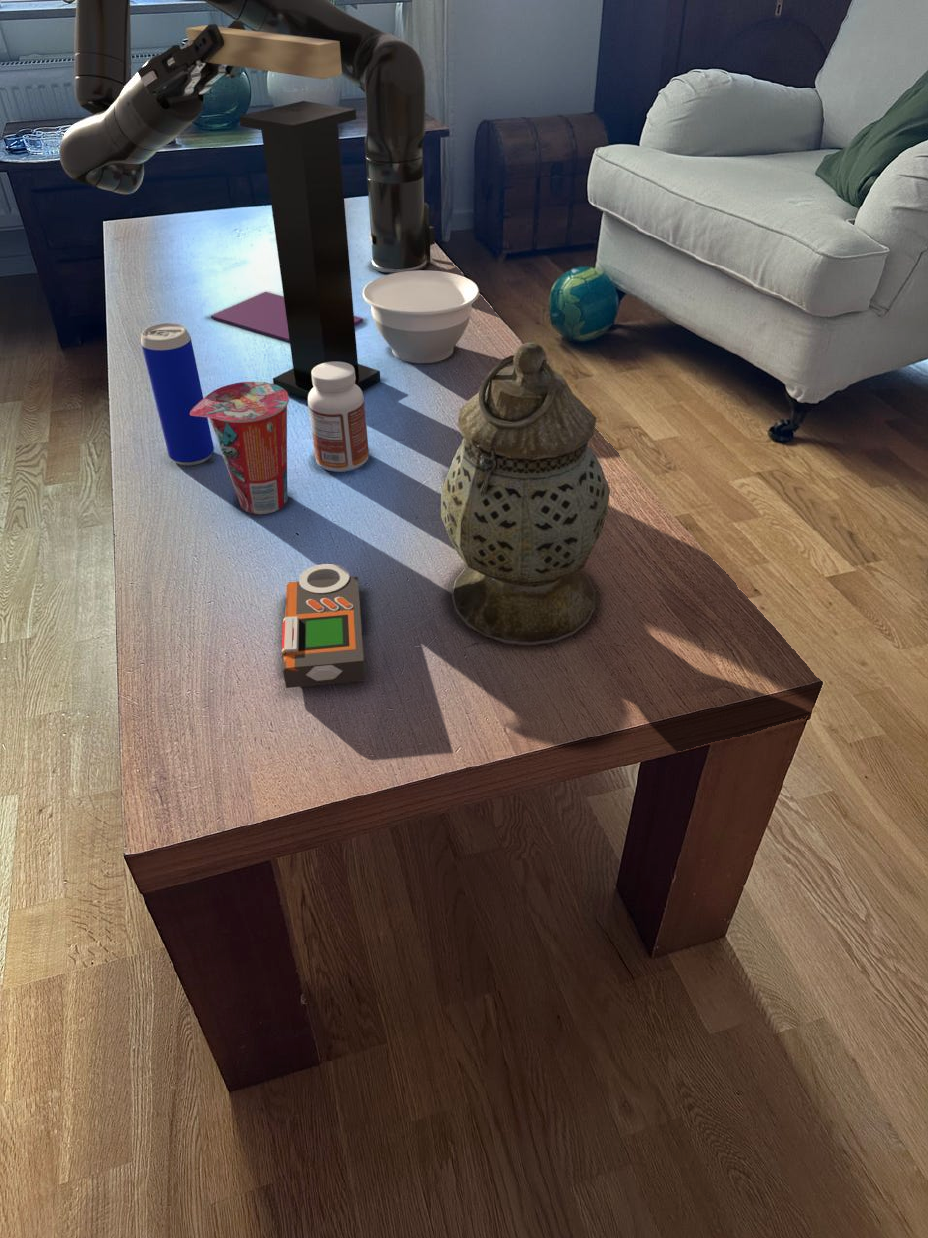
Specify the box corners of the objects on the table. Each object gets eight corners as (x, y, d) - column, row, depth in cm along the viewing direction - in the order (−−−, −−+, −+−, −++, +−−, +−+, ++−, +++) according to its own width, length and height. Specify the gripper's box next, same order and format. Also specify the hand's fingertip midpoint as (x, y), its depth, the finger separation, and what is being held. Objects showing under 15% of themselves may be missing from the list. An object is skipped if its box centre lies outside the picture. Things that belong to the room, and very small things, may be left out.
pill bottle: (358, 442, 106) (350, 353, 98) (377, 466, 101) (370, 375, 94) (308, 453, 104) (296, 364, 96) (325, 478, 99) (314, 386, 92)
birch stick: (191, 59, 99) (185, 27, 98) (211, 56, 101) (206, 24, 99) (322, 79, 91) (319, 44, 89) (342, 74, 92) (339, 40, 91)
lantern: (623, 628, 80) (664, 366, 63) (477, 666, 76) (479, 398, 60) (557, 543, 90) (577, 298, 73) (425, 573, 86) (415, 322, 70)
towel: (265, 293, 142) (265, 291, 142) (362, 320, 134) (362, 318, 134) (211, 318, 135) (210, 315, 134) (310, 348, 126) (309, 345, 126)
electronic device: (356, 558, 84) (363, 660, 72) (359, 584, 86) (366, 686, 74) (284, 564, 83) (279, 667, 71) (288, 590, 85) (284, 694, 73)
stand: (273, 388, 116) (232, 114, 96) (325, 362, 123) (296, 99, 102) (330, 409, 112) (299, 126, 91) (380, 381, 118) (362, 110, 97)
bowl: (459, 322, 133) (459, 264, 128) (494, 365, 122) (495, 304, 116) (356, 335, 130) (351, 276, 124) (381, 381, 118) (377, 318, 113)
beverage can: (220, 446, 105) (195, 322, 95) (206, 468, 101) (179, 342, 91) (178, 444, 105) (149, 320, 96) (163, 466, 101) (131, 340, 92)
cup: (263, 472, 100) (246, 373, 92) (319, 496, 97) (306, 394, 89) (201, 510, 94) (177, 407, 87) (257, 536, 91) (237, 431, 83)
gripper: (93, 80, 103) (161, -1, 90) (186, 63, 111) (261, -13, 99) (127, 147, 105) (199, 76, 93) (216, 125, 114) (292, 58, 102)
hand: (230, 31), depth 96 cm, fingers closed on birch stick, 3 cm apart
